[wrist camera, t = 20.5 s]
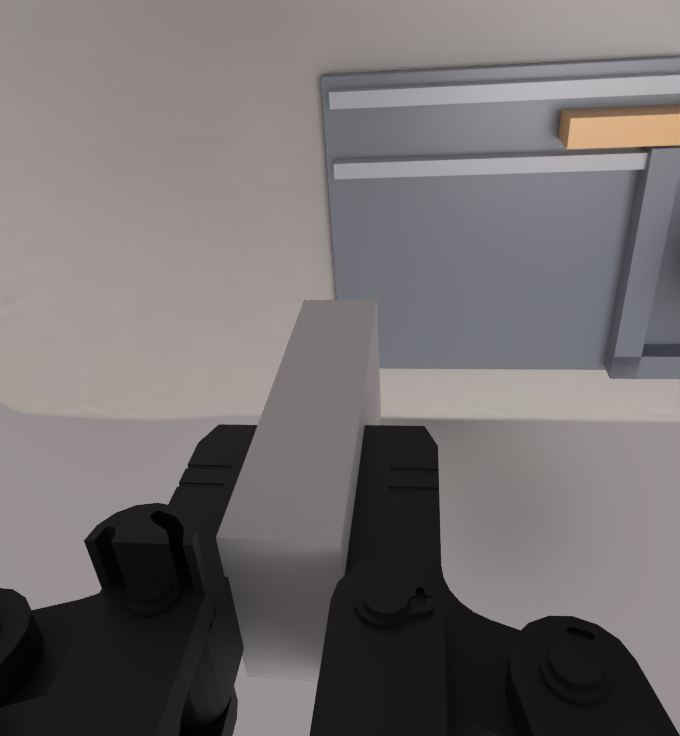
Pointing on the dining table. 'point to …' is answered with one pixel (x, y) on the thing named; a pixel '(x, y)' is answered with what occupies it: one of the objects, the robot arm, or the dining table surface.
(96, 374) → the dining table surface
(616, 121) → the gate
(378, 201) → the housing
